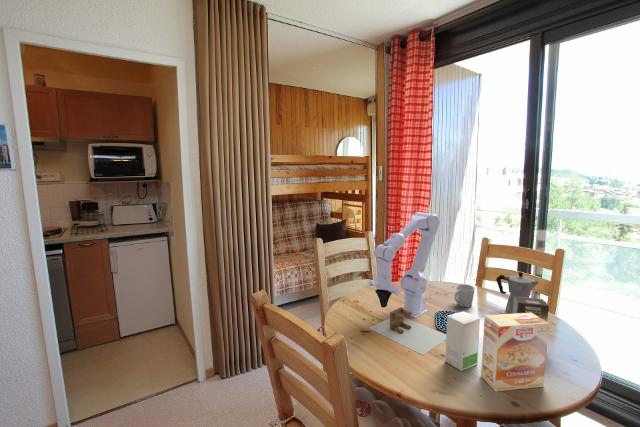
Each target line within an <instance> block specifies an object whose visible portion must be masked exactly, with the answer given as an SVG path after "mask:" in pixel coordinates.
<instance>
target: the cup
mask: <svg viewBox="0 0 640 427" xmlns="http://www.w3.org/2000/svg"><path fill="white" fill-rule="evenodd" d="M455 289H456V290H455V292H454V294H453V295H454V296H453V297H454V302H456V303H457V304H458V306H460V307H462V308H470V307H472V306H473V300H474V297H475V296H474V294H475V289H476V288H475V286H473V285H470V284H465V283H464V284H463V283H459V284H457V285H456V286H455Z"/></svg>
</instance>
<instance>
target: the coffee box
mask: <svg viewBox="0 0 640 427" xmlns="http://www.w3.org/2000/svg"><path fill="white" fill-rule="evenodd" d="M549 309H550V305H549V304H548V303H547V302H546V301H545V300H544V299H542V298H534V297H529V298H528V297H520V296H514V303H513V314H516V313H530V312H531V313H533V314H535V315H536V316H538V317H540V318H541V319H543V320H545V321H547V322H548V320H549V319H548V318H549V311H550V310H549Z"/></svg>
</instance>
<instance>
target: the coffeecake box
mask: <svg viewBox="0 0 640 427" xmlns="http://www.w3.org/2000/svg"><path fill="white" fill-rule="evenodd" d="M483 318H484V321H483V322H484V323H483V336H482V338H483V339H482V350H481V351H482V354H481V369H480V377H481V378H482V379H483V380H484V381H485V382H486V383H487V384H488V385H489V387H490V388H491V389H492V390H493V391H494V392H503V391H514V390H522V389H523V390H524V389H533V388H534V389H535V388H543V387H544V384H545V383H544V381H545V369H546V360H547V352H548V351H547V349H548V340H549V338H548V337H549V328H550V323H549V322H548V321H545V320H543V319H541V318H540V317H538V316H536V315H535V314H533V313H531V312H530V313H516V314H509V313H503V314H486V315H484V317H483Z"/></svg>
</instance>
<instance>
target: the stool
mask: <svg viewBox="0 0 640 427" xmlns="http://www.w3.org/2000/svg"><path fill="white" fill-rule="evenodd" d="M404 313H405V314H404ZM411 314H412V313H411V312H409V311H407V310H404V307H398V308H397V309H393V310H392V311H390V313H389V318H390V330H396V331H398V332H400V333H402V334H403V333H404V330H402V329H400V328H398V327H400V326H403V327H406V328H408V329H411V326H410V325H408V324H405V323H403V319H404V317H405V316H404V315H406V316H407V315H408V316H409V315H410V316H409V317H412V316H411Z"/></svg>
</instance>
